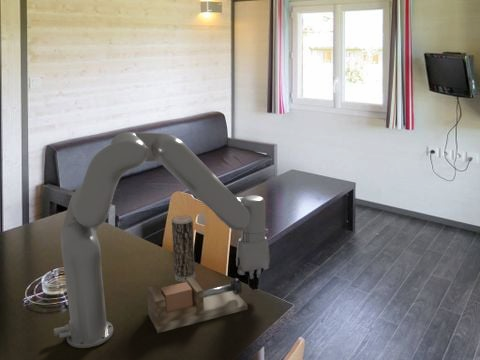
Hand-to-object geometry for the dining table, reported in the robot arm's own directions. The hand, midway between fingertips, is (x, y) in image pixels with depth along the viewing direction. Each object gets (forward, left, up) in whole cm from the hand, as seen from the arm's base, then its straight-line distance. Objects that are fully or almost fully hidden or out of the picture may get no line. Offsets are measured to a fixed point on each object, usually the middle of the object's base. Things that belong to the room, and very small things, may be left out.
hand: (253, 287), depth 147 cm
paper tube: (-18, +16, -4) cm, 24 cm away
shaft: (-13, 0, -1) cm, 13 cm away
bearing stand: (-19, 0, -4) cm, 19 cm away
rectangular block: (-26, 0, -2) cm, 26 cm away
